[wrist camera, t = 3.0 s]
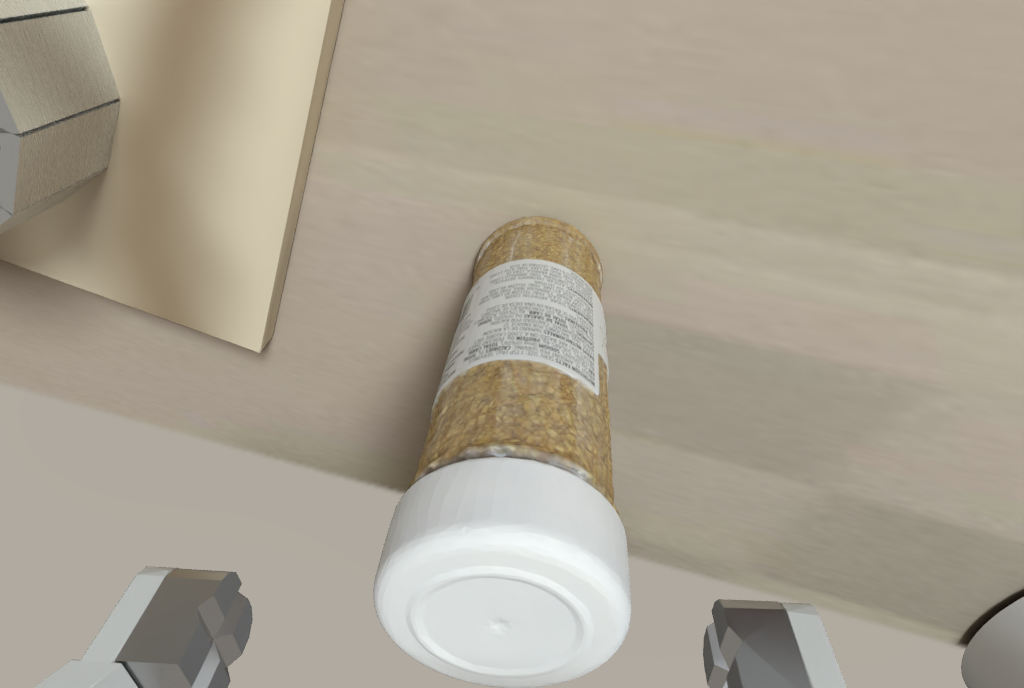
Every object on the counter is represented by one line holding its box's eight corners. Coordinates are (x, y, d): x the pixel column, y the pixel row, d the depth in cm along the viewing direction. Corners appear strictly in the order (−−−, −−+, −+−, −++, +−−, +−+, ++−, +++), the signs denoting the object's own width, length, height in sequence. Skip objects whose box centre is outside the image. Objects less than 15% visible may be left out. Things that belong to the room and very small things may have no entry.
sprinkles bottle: (566, 344, 23) (558, 723, 12) (454, 296, 23) (335, 653, 11) (628, 243, 21) (688, 603, 10) (504, 187, 20) (416, 503, 9)
